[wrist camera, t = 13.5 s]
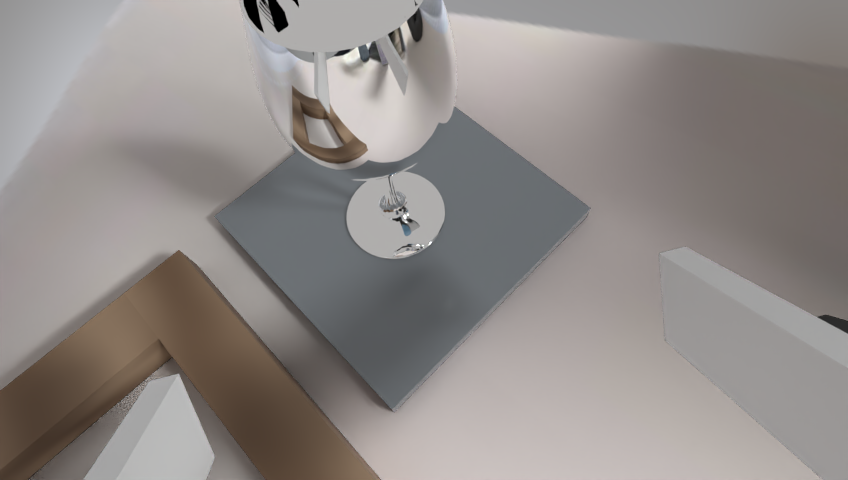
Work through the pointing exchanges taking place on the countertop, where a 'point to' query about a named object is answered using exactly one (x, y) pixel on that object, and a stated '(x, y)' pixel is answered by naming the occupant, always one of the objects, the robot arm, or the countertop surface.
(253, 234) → the coaster
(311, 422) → the brown wooden square frame
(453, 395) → the countertop surface
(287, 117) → the wineglass
